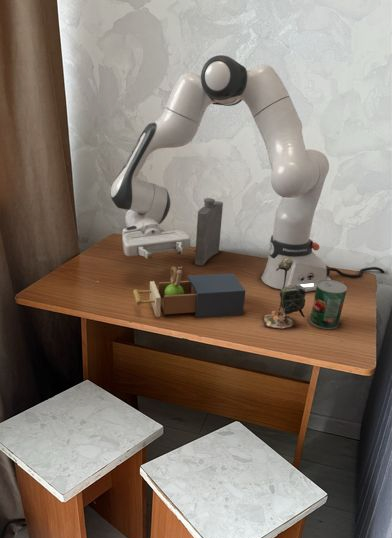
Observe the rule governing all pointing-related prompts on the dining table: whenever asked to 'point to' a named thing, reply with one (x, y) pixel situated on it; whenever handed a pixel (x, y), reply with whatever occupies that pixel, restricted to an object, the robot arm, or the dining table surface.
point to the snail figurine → (175, 282)
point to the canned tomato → (328, 304)
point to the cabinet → (218, 295)
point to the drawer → (169, 298)
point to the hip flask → (208, 230)
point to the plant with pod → (287, 300)
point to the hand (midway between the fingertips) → (164, 253)
